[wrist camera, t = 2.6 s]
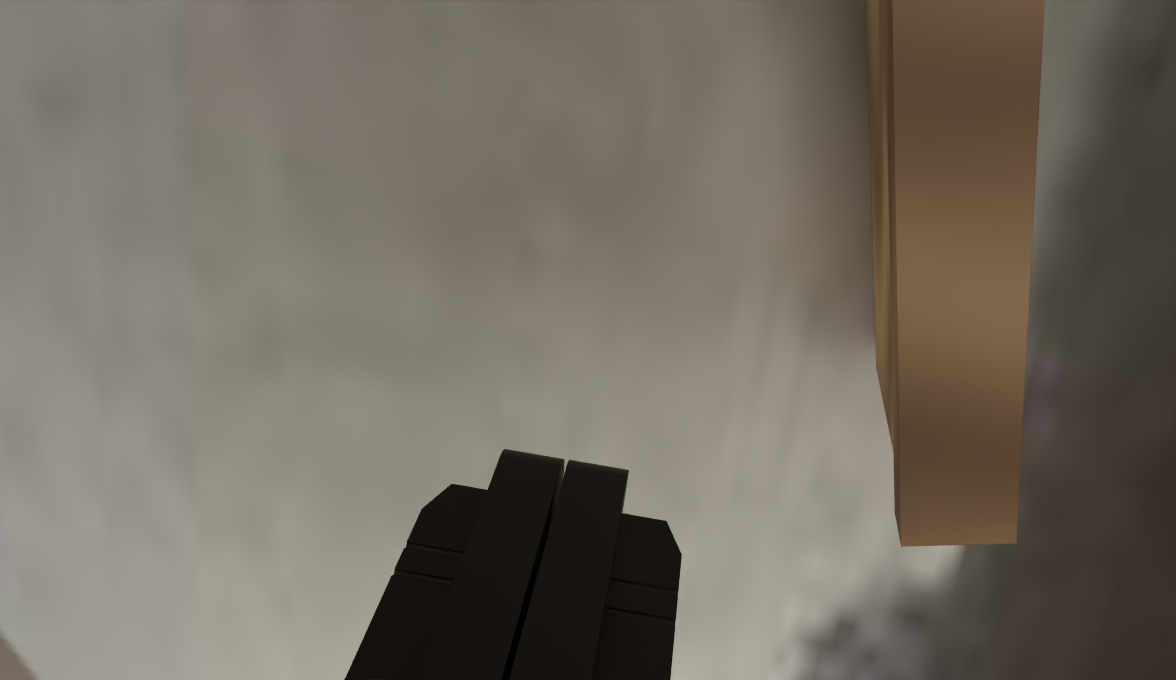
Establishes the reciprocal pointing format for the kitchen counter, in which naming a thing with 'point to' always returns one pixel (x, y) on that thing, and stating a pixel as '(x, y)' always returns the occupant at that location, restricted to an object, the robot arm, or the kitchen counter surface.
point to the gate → (953, 254)
